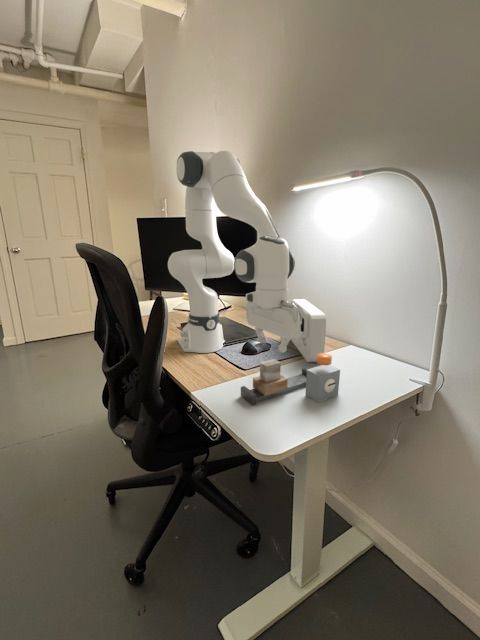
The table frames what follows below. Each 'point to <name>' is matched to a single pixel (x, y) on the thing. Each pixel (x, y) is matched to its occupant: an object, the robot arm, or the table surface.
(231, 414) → the table surface
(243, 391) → the rail
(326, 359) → the button
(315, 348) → the rounded white slab
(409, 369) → the table surface
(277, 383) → the carriage
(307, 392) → the cabinet
